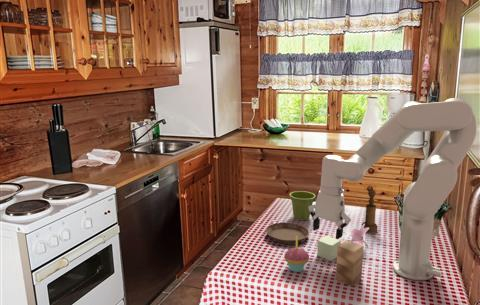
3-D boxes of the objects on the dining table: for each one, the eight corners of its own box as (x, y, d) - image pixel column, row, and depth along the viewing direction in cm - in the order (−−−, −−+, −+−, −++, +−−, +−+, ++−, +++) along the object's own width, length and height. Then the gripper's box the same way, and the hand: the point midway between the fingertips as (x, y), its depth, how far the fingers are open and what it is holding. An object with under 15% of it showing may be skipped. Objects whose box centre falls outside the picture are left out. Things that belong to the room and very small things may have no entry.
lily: (353, 241, 159) (343, 223, 156) (381, 237, 152) (371, 217, 149) (347, 262, 150) (337, 242, 147) (377, 258, 143) (366, 238, 140)
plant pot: (310, 224, 173) (311, 200, 171) (285, 220, 178) (286, 196, 176) (317, 215, 184) (318, 192, 181) (293, 211, 189) (294, 189, 186)
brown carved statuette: (380, 230, 166) (383, 190, 162) (370, 234, 163) (373, 193, 159) (367, 225, 172) (370, 186, 168) (358, 229, 168) (360, 189, 164)
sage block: (339, 255, 145) (340, 240, 144) (331, 260, 141) (331, 245, 140) (326, 250, 149) (326, 235, 148) (317, 255, 145) (317, 240, 144)
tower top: (362, 262, 127) (363, 245, 126) (353, 269, 123) (354, 251, 122) (346, 256, 131) (347, 240, 130) (336, 262, 127) (337, 245, 126)
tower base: (361, 279, 128) (362, 262, 127) (352, 286, 124) (353, 269, 123) (345, 272, 133) (346, 256, 131) (335, 279, 128) (336, 262, 127)
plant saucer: (312, 232, 166) (312, 225, 165) (303, 249, 150) (304, 242, 149) (272, 226, 172) (273, 219, 172) (260, 242, 156) (260, 235, 155)
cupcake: (283, 262, 140) (283, 231, 137) (307, 262, 139) (308, 231, 137) (285, 274, 131) (286, 242, 129) (310, 275, 131) (311, 242, 128)
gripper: (358, 193, 136) (353, 238, 140) (316, 182, 148) (313, 223, 152) (347, 198, 131) (342, 244, 135) (305, 185, 143) (302, 229, 147)
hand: (327, 233), depth 144 cm, fingers open, 9 cm apart
